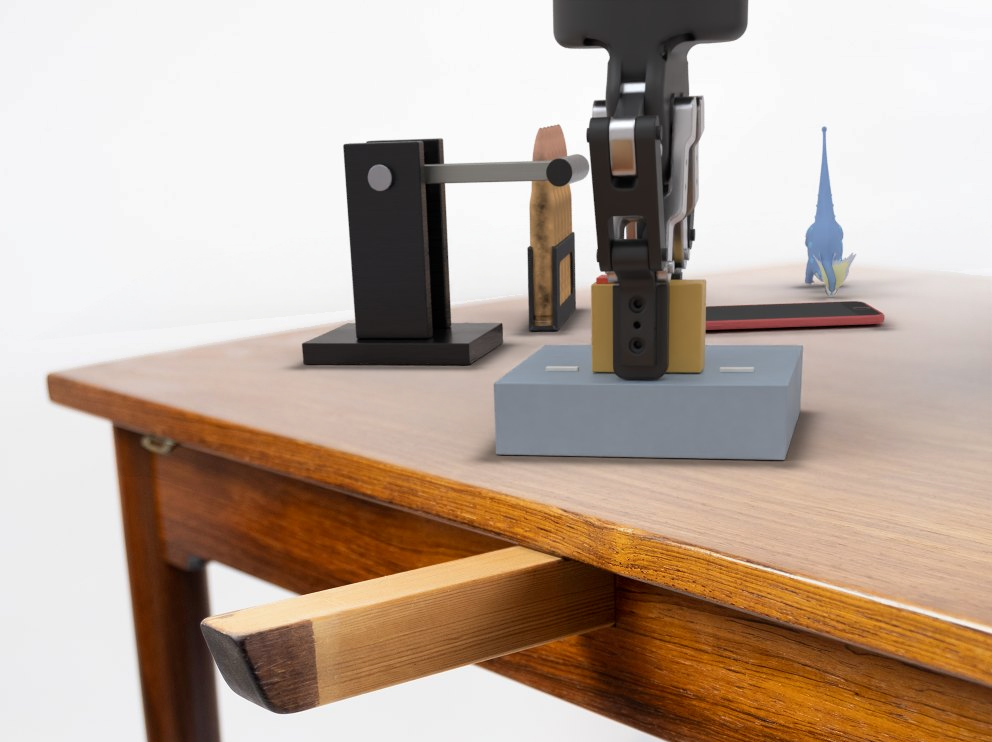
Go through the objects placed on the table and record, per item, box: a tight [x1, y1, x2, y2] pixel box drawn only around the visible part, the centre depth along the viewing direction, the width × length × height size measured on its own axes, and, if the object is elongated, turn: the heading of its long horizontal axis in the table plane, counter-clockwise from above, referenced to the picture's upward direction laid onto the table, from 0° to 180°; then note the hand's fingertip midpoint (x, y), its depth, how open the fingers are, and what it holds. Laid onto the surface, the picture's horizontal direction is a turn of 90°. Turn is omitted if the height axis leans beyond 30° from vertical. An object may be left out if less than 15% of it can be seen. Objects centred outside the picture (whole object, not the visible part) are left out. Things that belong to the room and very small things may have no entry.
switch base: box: [493, 344, 804, 461], centre depth 66 cm, size 12×10×3 cm
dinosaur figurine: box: [804, 126, 857, 298], centre depth 109 cm, size 3×15×10 cm
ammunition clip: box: [526, 123, 577, 332], centre depth 98 cm, size 11×2×12 cm, turn 170°
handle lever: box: [424, 153, 590, 187], centre depth 85 cm, size 12×5×2 cm, turn 75°
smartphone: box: [705, 300, 885, 331], centre depth 95 cm, size 7×1×14 cm
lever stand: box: [301, 137, 504, 366], centre depth 88 cm, size 10×8×12 cm
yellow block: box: [590, 274, 707, 373], centre depth 63 cm, size 5×1×4 cm, turn 75°
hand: (648, 367), depth 64 cm, fingers open, 3 cm apart
